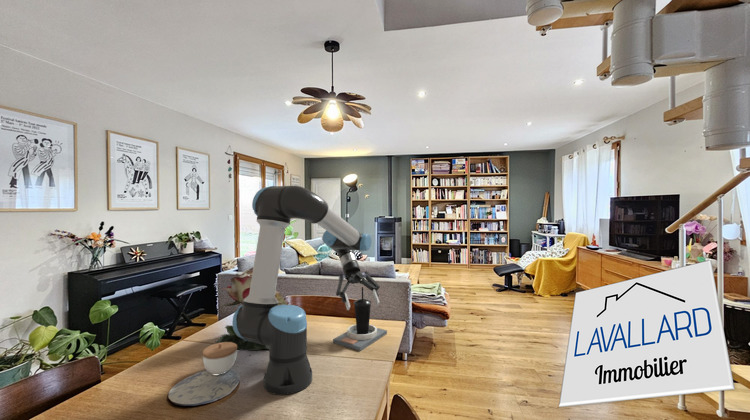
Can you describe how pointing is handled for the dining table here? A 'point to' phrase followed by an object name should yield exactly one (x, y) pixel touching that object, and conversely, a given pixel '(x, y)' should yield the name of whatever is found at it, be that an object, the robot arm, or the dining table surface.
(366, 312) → the drinking cup
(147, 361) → the dining table surface
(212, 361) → the lidded jar
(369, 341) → the ring board
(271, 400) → the dining table surface
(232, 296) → the rose bouquet
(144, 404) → the dining table surface
